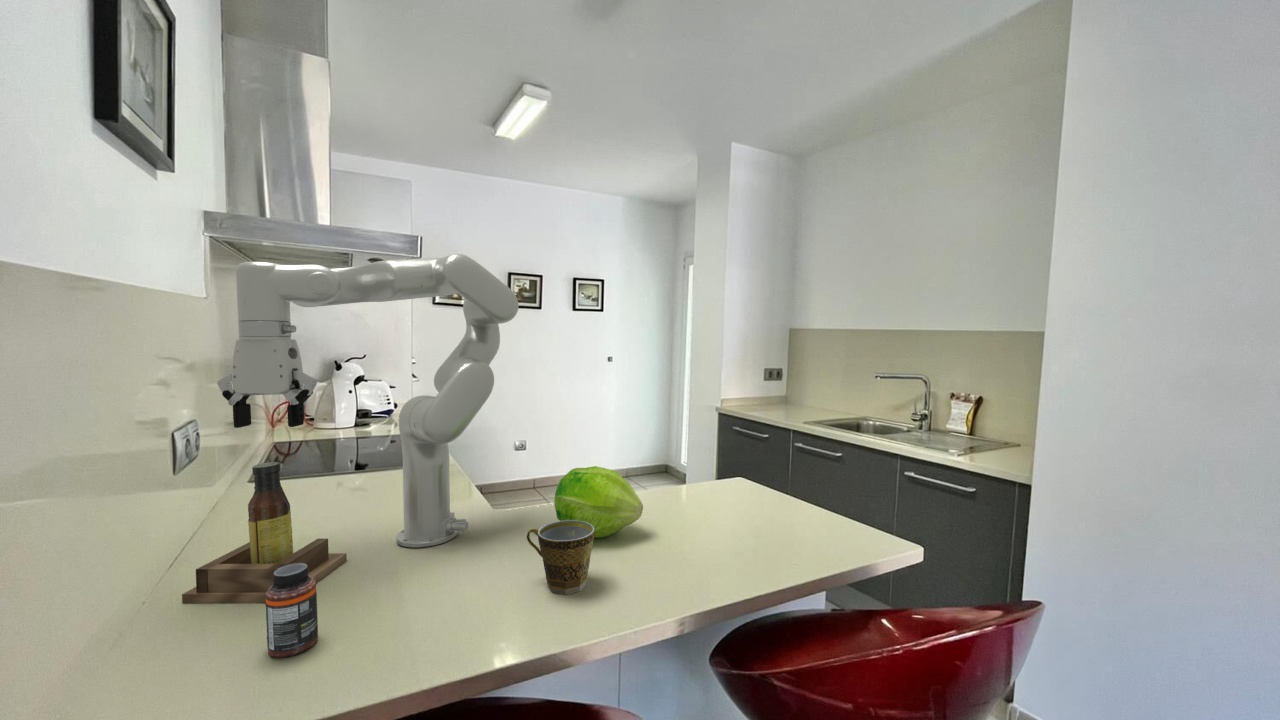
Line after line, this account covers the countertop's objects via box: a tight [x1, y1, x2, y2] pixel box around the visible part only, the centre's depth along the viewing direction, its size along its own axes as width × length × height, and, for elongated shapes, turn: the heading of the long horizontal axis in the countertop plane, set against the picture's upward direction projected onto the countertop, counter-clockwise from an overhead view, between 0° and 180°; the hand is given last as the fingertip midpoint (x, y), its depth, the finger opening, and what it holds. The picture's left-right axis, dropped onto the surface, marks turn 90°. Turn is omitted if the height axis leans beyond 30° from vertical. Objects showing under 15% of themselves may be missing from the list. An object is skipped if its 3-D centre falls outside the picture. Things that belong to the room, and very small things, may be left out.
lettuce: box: [553, 465, 644, 539], centre depth 111 cm, size 17×20×15 cm
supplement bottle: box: [265, 563, 319, 658], centre depth 70 cm, size 6×6×11 cm
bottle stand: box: [181, 538, 348, 604], centre depth 90 cm, size 18×16×6 cm
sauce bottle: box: [247, 461, 294, 564], centre depth 90 cm, size 7×6×20 cm
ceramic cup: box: [526, 520, 595, 596], centre depth 88 cm, size 13×10×10 cm
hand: (269, 426), depth 90 cm, fingers open, 9 cm apart
